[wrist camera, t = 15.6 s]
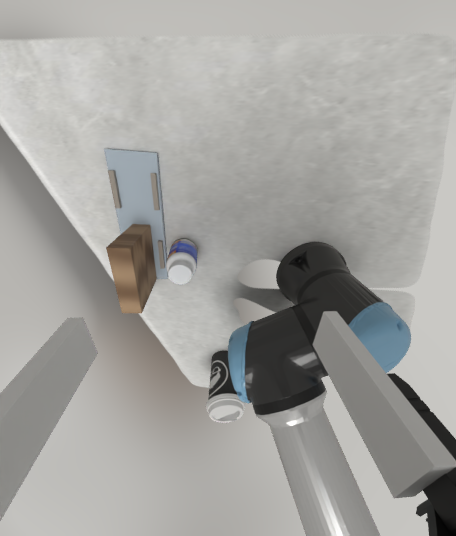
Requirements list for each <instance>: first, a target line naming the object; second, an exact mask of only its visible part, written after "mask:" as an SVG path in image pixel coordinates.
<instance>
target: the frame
mask: <svg viewBox="0 0 456 536" xmlns="http://www.w3.org/2000/svg"><path fill="white" fill-rule="evenodd" d="M106 249H107V253H108V257H109V261H110V265H111V269H112V273H113V278H114V282H115V286H116V290H117V294H118V298H119V302H120V306H121V311H122V313H142V311H143V309H144V307H145V305H146V302H147V300H148V298H149V295H150V293H151V291H152V288H153V286H154V284H155V281H156V279H157V276H156V268H155V259H154V251H153V243H152V234H151V226H150V225H146V224H132V225H131V226H130V227H129V228H128V229H126V230H125V231H124V232H123V233H122V234H121V235H120V236H119V237H118V238H116V239H115V240H114V241H113V242H112V243H111V244H110V245H109V246H108V247H107V248H106Z"/></svg>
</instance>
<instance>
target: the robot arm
mask: <svg viewBox="0 0 456 536" xmlns="http://www.w3.org/2000/svg"><path fill="white" fill-rule="evenodd" d="M276 278H277V284H278V286H279V288H280V290H281V292H282V294H283V295H284V296H285V297H286V298H287V299H289V300H290V301H292V302H293V303H294V304H295V306H292V307H289V308H287V309H284V310H282V311H280V312H277V313H275V314H272V315H270V316H267V317H265V318H262V319H260V320H257V321H255V322H254V321H251V322H250V323H249V324H247V325H245V326H243V327H241V328H238V329H236V330H235V331H234V332H233V333H232V335H231V336H230V339H229V345H228V362H229V369H230V375H231V379H232V383H233V386H234V389H235V391H237V396H238V398H239V399H240V400H241V401H242V402H244V403H251V402H252V404H253V408H254V410H255V414H256V416H257V417H258V418H260V419H262V420H263V421H265V422H266V423H268V424H269V426H270V428H271V431H272V434H273V437H274V440H275V443H276V446H277V449H278V452H279V455H280V458H281V461H282V464H283V467H284V470H285V473H286V476H287V479H288V482H289V485H290V488H291V491H292V494H293V497H294V500H295V503H296V506H297V509H298V512H299V515H300V518H301V521H302V524H303V527H304V530H305V533H306V536H380V534H379V532H378V530H377V527H376V525H375V523H374V520H373V518H372V516H371V514H370V512H369V509H368V507H367V505H366V503H365V500H364V498H363V496H362V494H361V491H360V489H359V487H358V485H357V482H356V480H355V478H354V476H353V474H352V471H351V469H350V467H349V464H348V462H347V460H346V458H345V455H344V453H343V451H342V449H341V447H340V444H339V442H338V440H337V438H336V435H335V433H334V431H333V429H332V426H331V424H330V422H329V420H328V418H327V415H326V413H325V411H324V408H323V403H324V399H325V396H326V393H327V391H326V388H325V386H324V384H323V382H322V380H321V378H322V377H325V376H328V375H329V377H330V378H331V380H332V382H333V384H334V386H335V388H336V390H337V392H338V393H339V395H340V397H341V399H342V401H343V403H344V405H345V407H346V409H347V411H348V412H349V414H350V416H351V418H352V420H353V422H354V424H355V426H356V427H357V429H358V431H359V433H360V435H361V437H362V439H363V441H364V443H365V444H366V446H367V448H368V450H369V452H370V454H371V456H372V458H373V459H374V461H375V463H376V465H377V467H378V469H379V471H380V473H381V474H382V476H383V478H384V480H385V482H386V484H387V486H388V488H389V490H390V492H391V494H392V495H393V497H394V498H402V497H412V496H415V495H417V494H418V493H420V492H421V491H422V490H423V491H424V493H425V494H426V496H427V498H428V500H426V501H425V502H423V503H422V504H420V505H419V506H418V507H417V511H416V514H418V515H419V516H422V515H424V514H425V513H427V516H428V518H427V519H426V521H427V522H428V527H429V536H456V439H455V438H454V437H453V436H452V435H451V433H450V432H449V431H448V430H447V429H446V427H445V426H444V425H443V424H442V423H441V422H440V421H439V419H438V418H437V417H436V416H435V415H434V413H433V412H431V411H430V409H429V408H428V406H427V405H426V404H425V403H424V402H423V401H421V400H420V397H419V396H418V395H417V394H416V393H415V391H414V390H413V389H412V388H411V387H410V385H409V384H407V383H406V382H405V381H403V380H402V379H401V378H399V376H397V375H396V374H395V373H394V374H386V373H387V372H389V371H390V370H391V369H392V368H394V367H395V366H396V365H397V364H398V363H399V362H400V361H401V359H402V358H403V357H404V356H405V354H406V352H407V351H408V348H409V346H410V341H411V333H410V330H409V327H408V326H407V324H406V323H405V322H404V321H403V320H402V319H401V318H400V317H399V316H398V315H397V314H396V313H395V312H394V311H393V309H392V308H391V306H390V305H388V304H387V303H384V302H383V301H382V300H381V299H380V298H379V297H377V296H376V295H375V294H374V293H373V292H372V291H370V290H369V289H368V288H367V287H366V286H364V285H363V284H362V283H361V282H360V281H359V280H357V279H356V278H355V277H354V276H353V275H351V273H350V271H349V269H348V267H347V266H346V262H345V260H344V258H343V256H342V255H341V254H340V253H339V252H338V251H337V250H336V249H335V248H333V247H332V246H330V245H328V244H325V243H320V242H312V243H307V244H304V245H301V246H299V247H297V248H295V249H293V250H292V251H291V252H289V253H288V254H287V255H286V256H285V257H284V259H283V260H282V261H281V263H280V265H279V267H278V270H277V275H276ZM97 354H98V352H97V350H96V347H95V345H94V342H93V340H92V337H91V335H90V333H89V330H88V328H87V326H86V323H85V321H84V319H83V318H67V319H66V321H65V322H64V323H63V324H62V325H61V326H60V327H59V328H58V329H57V331H56V332H55V333H54V334H53V335H52V336H51V337H50V338H49V340H48V341H47V342H46V343H45V344H44V346H42V347H41V349H40V350H39V351H38V352H37V353H36V354H35V355H34V356H33V358H32V359H31V360H30V361H29V362H28V363H27V364H26V366H25V367H24V368H23V369H22V370H21V371H20V372H19V373H18V374H17V376H16V377H15V378H14V379H13V380H12V381H11V382H10V383H9V384H8V386H7V387H6V388H5V389H4V390H3V391H2V392H1V394H0V521H1V519H2V517H3V516H4V514H5V512H6V510H7V509H8V507H9V505H10V504H11V502H12V500H13V498H14V497H15V495H16V493H17V491H18V490H19V488H20V486H21V485H22V483H23V481H24V479H25V478H26V476H27V474H28V472H29V471H30V469H31V467H32V466H33V464H34V462H35V460H36V459H37V457H38V455H39V454H40V452H41V450H42V448H43V446H44V445H45V443H46V441H47V440H48V438H49V436H50V435H51V433H52V431H53V429H54V428H55V426H56V424H57V423H58V421H59V419H60V417H61V416H62V414H63V412H64V411H65V409H66V407H67V405H68V404H69V402H70V400H71V398H72V397H73V395H74V393H75V392H76V390H77V388H78V386H79V385H80V383H81V381H82V379H83V378H84V376H85V374H86V373H87V371H88V369H89V367H90V366H91V364H92V362H93V361H94V359H95V357H96V355H97Z"/></svg>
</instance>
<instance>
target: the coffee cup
mask: <svg viewBox="0 0 456 536" xmlns="http://www.w3.org/2000/svg"><path fill="white" fill-rule="evenodd" d="M206 409H207V412H208V414H209V416H210V418H211V419H212V420H213V421H215V422H220V423H228V422H232V421H235V420H238V419H239V418H240V417H241V416H242V415H243V411H244V409H245V403H244V402H242V401H241V400H240V399H239V398H238V396H237V391H235V389H234V386H233V383H232V379H231V375H230V369H229V362H228V351H219V352H217V353H215V354H214V355H213V357H212V365H211V377H210V388H209V399H208V402H207V403H206Z"/></svg>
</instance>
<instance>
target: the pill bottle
mask: <svg viewBox="0 0 456 536" xmlns="http://www.w3.org/2000/svg"><path fill="white" fill-rule="evenodd" d="M196 267H197V248H196V246H195V244H194V243H193V242H191V241H190V240H187V239H180V240H177V241H175V242H174V243H173V245H172V247H171V249H170V252H169V256H168V259H167V262H166V269H167V271H168V277H169V279H170V280H171V281H172V282H173V283H175V284H178V285H183V284H186V283H188V282H189V281H190V280H191V278H192V276H193V275H194V273H195V271H196Z"/></svg>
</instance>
